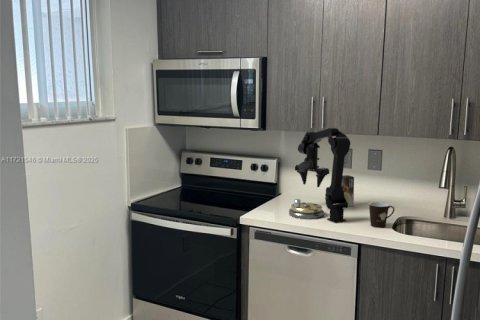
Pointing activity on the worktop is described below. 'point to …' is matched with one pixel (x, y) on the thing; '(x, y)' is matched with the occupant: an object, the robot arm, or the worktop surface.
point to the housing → (306, 215)
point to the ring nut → (305, 207)
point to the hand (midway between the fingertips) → (311, 185)
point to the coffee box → (348, 189)
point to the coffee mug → (379, 214)
